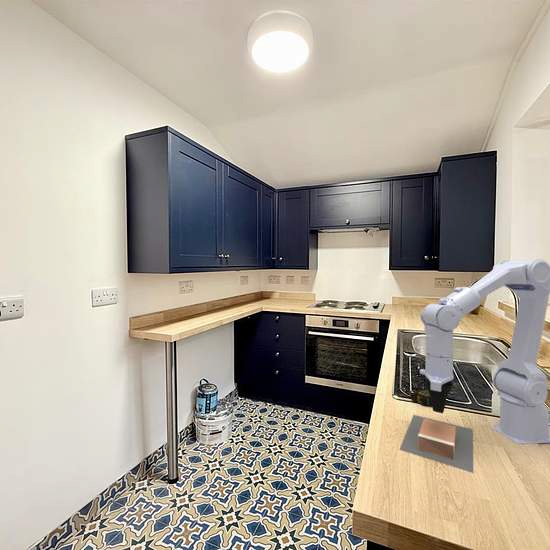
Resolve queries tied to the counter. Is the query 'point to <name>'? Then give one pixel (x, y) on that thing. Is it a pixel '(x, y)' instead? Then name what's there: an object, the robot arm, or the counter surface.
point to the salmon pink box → (437, 438)
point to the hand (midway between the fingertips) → (438, 411)
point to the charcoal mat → (461, 456)
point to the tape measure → (421, 397)
